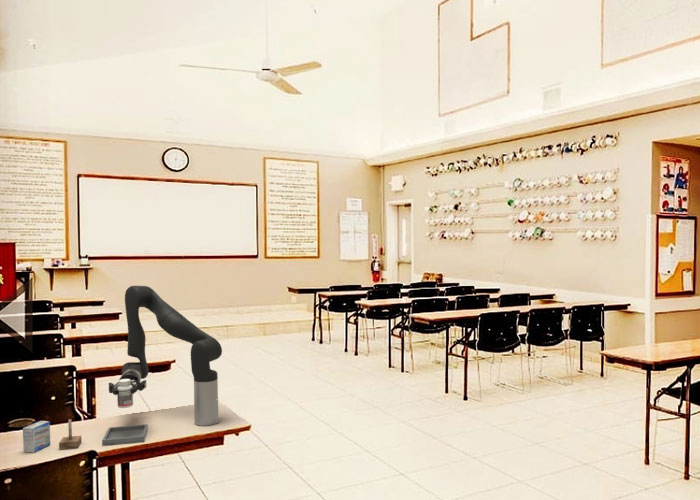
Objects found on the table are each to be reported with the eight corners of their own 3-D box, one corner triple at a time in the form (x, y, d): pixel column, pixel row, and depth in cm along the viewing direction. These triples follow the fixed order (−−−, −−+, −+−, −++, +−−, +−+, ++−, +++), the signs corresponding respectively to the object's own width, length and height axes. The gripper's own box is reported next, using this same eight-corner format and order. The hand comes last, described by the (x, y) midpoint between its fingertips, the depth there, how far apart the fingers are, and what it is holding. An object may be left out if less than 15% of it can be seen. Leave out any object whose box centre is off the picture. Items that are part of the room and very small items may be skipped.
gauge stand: (81, 442, 201) (80, 416, 201) (77, 448, 195) (77, 421, 195) (63, 444, 199) (62, 417, 199) (59, 450, 193) (58, 423, 193)
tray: (147, 429, 214) (147, 424, 214) (143, 441, 201) (143, 436, 200) (108, 432, 211) (108, 427, 210) (102, 445, 197) (102, 440, 197)
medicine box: (34, 453, 191) (33, 428, 191) (22, 452, 192) (22, 427, 192) (50, 444, 199) (50, 421, 199) (39, 444, 200) (39, 420, 199)
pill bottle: (120, 404, 208) (119, 378, 208) (135, 403, 208) (134, 378, 208) (115, 408, 202) (114, 382, 202) (130, 408, 203) (130, 381, 203)
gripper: (110, 372, 217) (102, 383, 201) (149, 369, 221) (144, 380, 204) (110, 391, 217) (103, 403, 201) (149, 388, 221) (145, 400, 205)
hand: (124, 391), depth 203 cm, fingers closed on pill bottle, 5 cm apart
